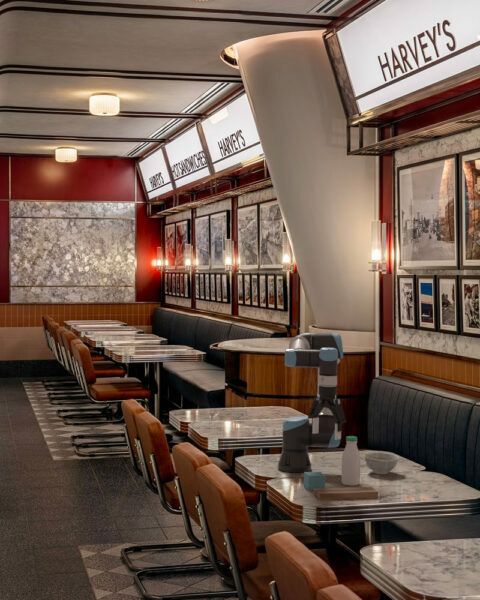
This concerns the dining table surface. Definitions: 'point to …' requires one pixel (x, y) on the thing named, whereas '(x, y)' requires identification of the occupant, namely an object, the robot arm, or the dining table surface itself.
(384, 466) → the bowl
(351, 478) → the milk bottle
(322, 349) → the robot arm
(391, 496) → the dining table surface
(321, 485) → the block
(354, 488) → the board
